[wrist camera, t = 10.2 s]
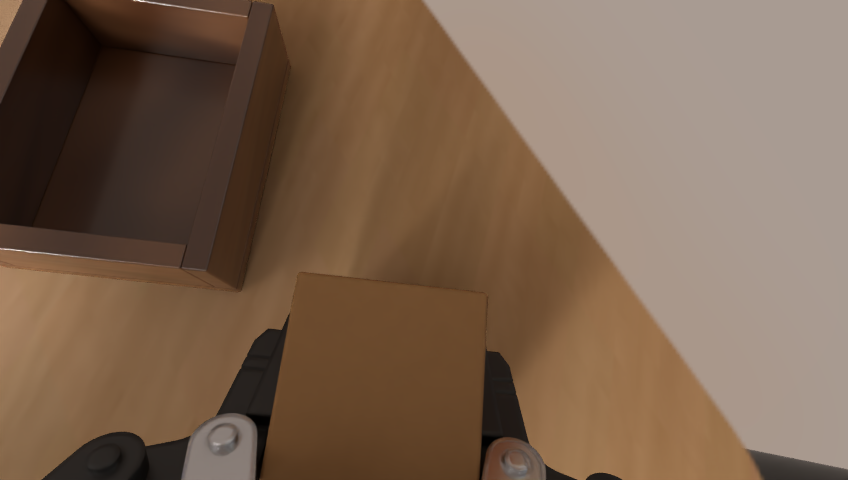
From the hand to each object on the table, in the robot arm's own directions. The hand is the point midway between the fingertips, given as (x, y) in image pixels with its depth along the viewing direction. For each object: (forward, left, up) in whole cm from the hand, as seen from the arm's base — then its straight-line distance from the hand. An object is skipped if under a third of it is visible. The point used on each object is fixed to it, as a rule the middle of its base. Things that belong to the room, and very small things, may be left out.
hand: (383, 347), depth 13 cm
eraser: (0, +2, -4) cm, 4 cm away
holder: (+10, -7, -4) cm, 13 cm away
